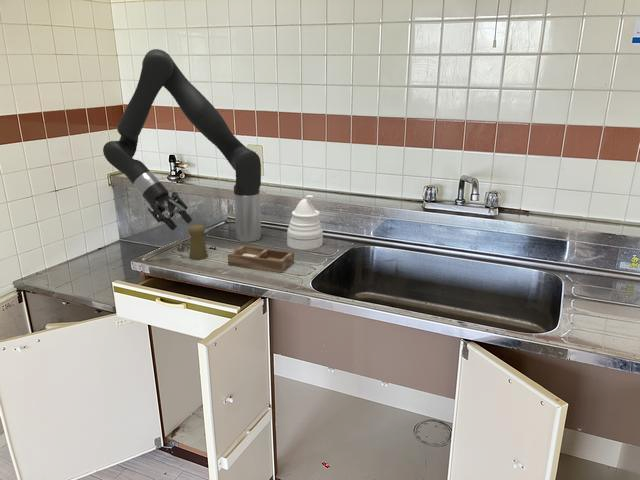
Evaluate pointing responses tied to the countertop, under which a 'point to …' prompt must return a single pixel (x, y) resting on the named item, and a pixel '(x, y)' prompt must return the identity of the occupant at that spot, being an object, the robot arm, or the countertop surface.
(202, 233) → the cork
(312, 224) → the honey pot
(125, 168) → the robot arm
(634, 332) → the countertop surface
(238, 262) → the spice caddy
